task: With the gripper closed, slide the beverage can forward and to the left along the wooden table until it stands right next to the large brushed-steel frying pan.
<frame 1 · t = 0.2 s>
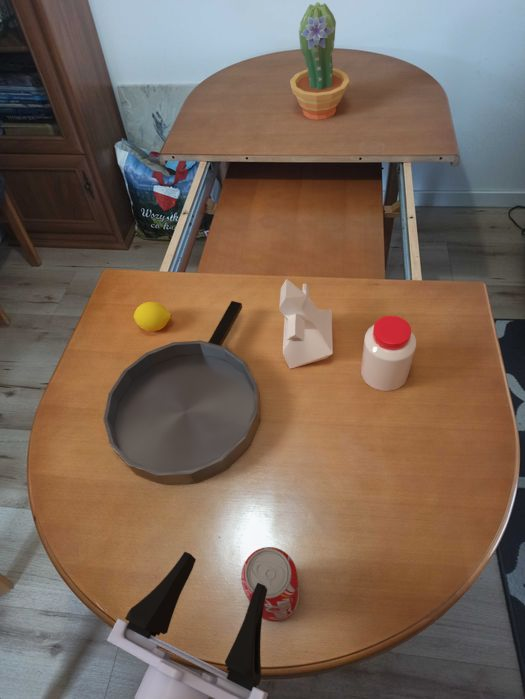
hand: (225, 570, 47), 20 cm above the table, tool horizontal, fingers open, 7 cm apart
lemon: (156, 326, 92), on the table
beverage can: (275, 595, 63), on the table
pan: (186, 413, 80), on the table
potted cactus: (319, 111, 134), on the table
pill bottle: (383, 372, 82), on the table
white angular piece: (307, 342, 87), on the table
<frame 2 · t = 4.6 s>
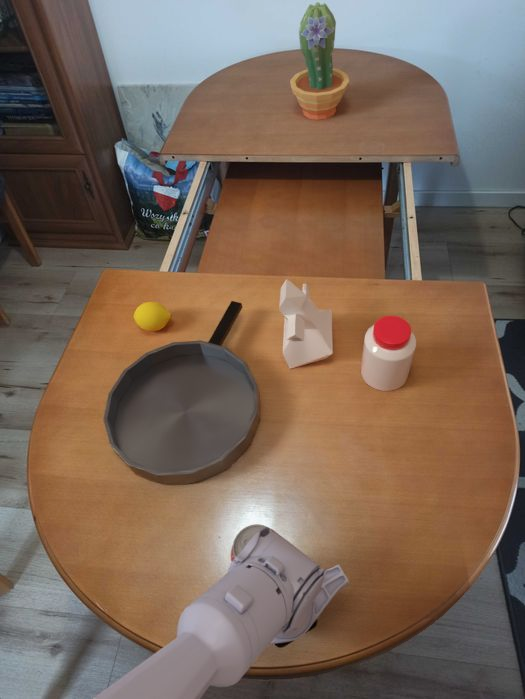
hand: (289, 621, 59), 2 cm above the table, tool pointing down, fingers closed, pressing on beverage can
beverage can: (274, 593, 63), point 1 cm above the table, touching gripper
everything else where it was.
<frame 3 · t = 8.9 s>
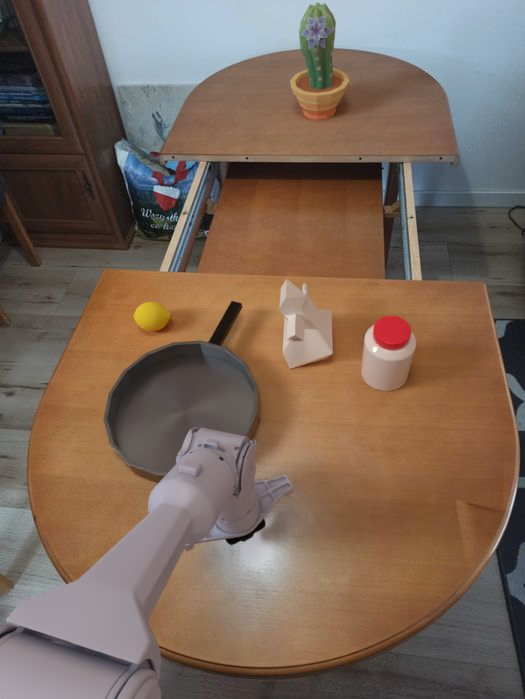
hand: (244, 532, 66), 2 cm above the table, tool pointing down, fingers closed
beverage can: (229, 503, 71), on the table, touching gripper
everything else where it was.
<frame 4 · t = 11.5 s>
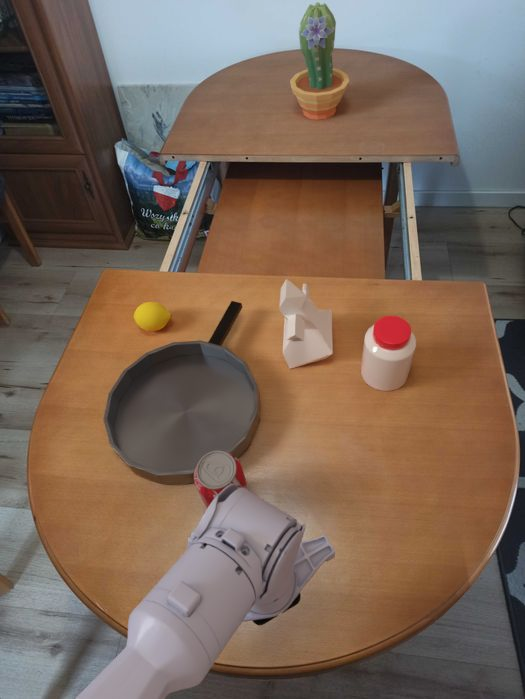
hand: (271, 599, 54), 9 cm above the table, tool pointing down, fingers closed
beverage can: (229, 503, 71), on the table
everything else where it was.
at the end: beverage can 16.8 cm from the pan (horizontally); beverage can moved 13.7 cm from its start; beverage can tilted 0° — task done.
